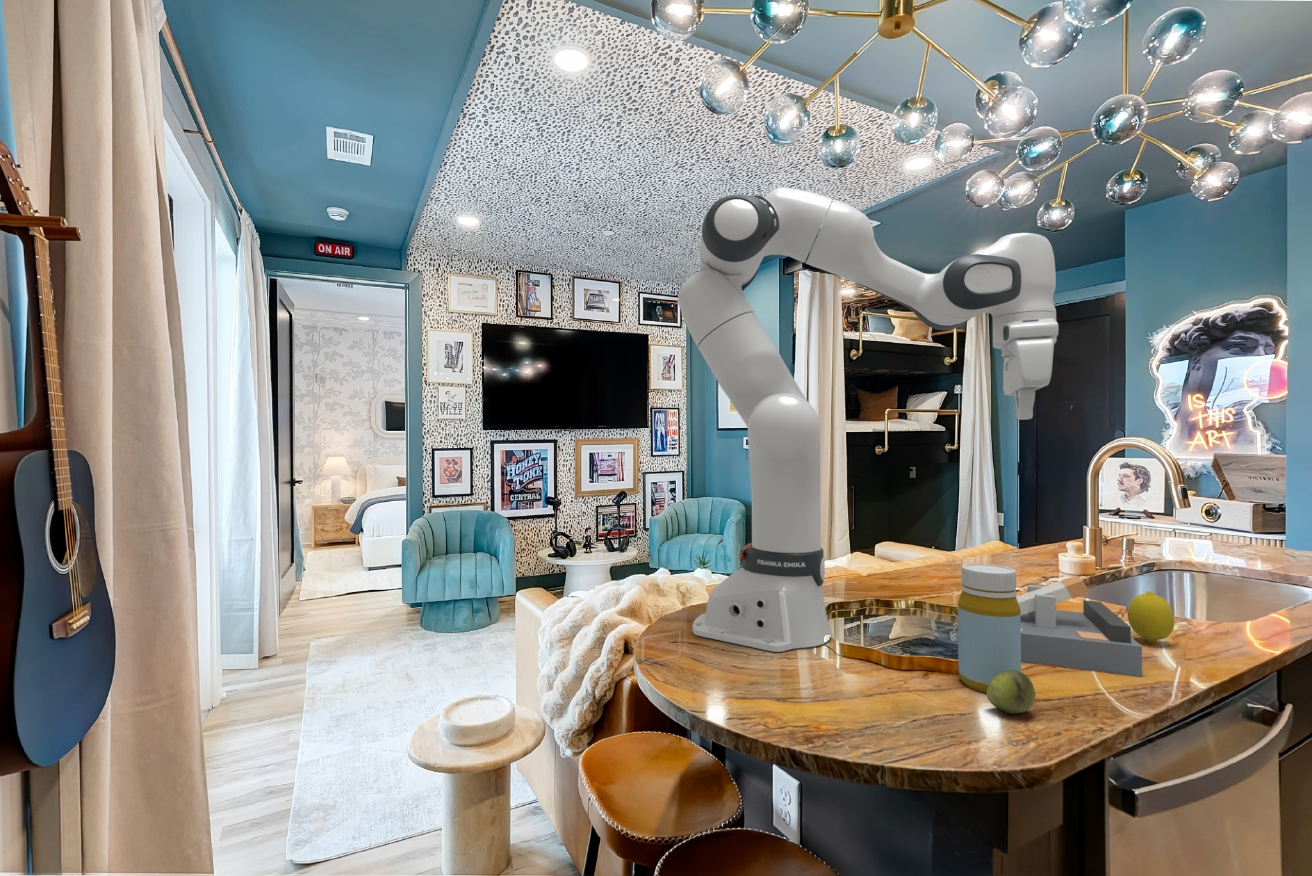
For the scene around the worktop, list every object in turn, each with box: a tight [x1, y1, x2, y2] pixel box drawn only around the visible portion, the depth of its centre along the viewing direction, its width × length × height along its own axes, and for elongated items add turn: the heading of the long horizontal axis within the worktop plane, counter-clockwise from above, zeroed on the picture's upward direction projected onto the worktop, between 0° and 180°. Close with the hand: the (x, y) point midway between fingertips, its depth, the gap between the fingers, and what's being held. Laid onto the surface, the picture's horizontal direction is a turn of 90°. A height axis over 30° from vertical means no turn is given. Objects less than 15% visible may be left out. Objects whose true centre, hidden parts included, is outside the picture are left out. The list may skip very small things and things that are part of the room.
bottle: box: [957, 563, 1022, 694], centre depth 76 cm, size 7×7×15 cm
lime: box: [985, 670, 1036, 715], centre depth 68 cm, size 4×5×5 cm
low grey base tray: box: [1021, 584, 1143, 677], centre depth 89 cm, size 20×16×9 cm
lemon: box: [1127, 591, 1175, 644], centre depth 91 cm, size 6×6×8 cm
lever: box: [1016, 574, 1091, 615], centre depth 89 cm, size 12×4×2 cm, turn 67°
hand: (1024, 419), depth 96 cm, fingers closed
